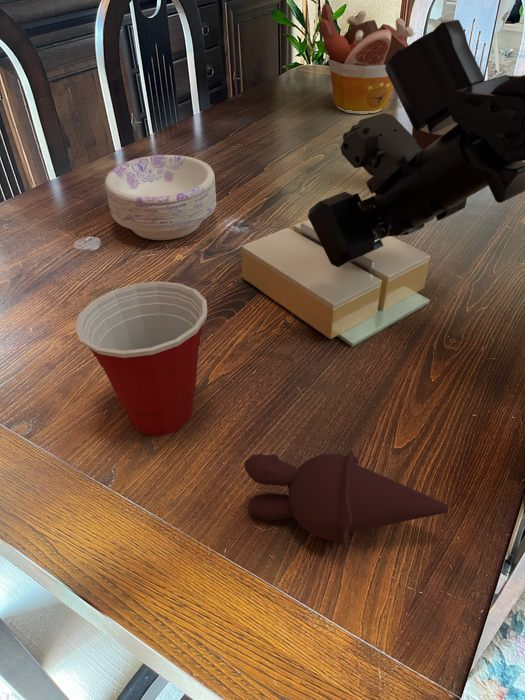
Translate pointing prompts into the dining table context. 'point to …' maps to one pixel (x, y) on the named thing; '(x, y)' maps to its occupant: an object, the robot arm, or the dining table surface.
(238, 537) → the dining table surface
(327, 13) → the bucket of meat
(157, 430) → the plastic cup
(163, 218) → the paper bowls
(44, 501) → the dining table surface
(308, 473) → the icecream
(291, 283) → the slotted wooden block
